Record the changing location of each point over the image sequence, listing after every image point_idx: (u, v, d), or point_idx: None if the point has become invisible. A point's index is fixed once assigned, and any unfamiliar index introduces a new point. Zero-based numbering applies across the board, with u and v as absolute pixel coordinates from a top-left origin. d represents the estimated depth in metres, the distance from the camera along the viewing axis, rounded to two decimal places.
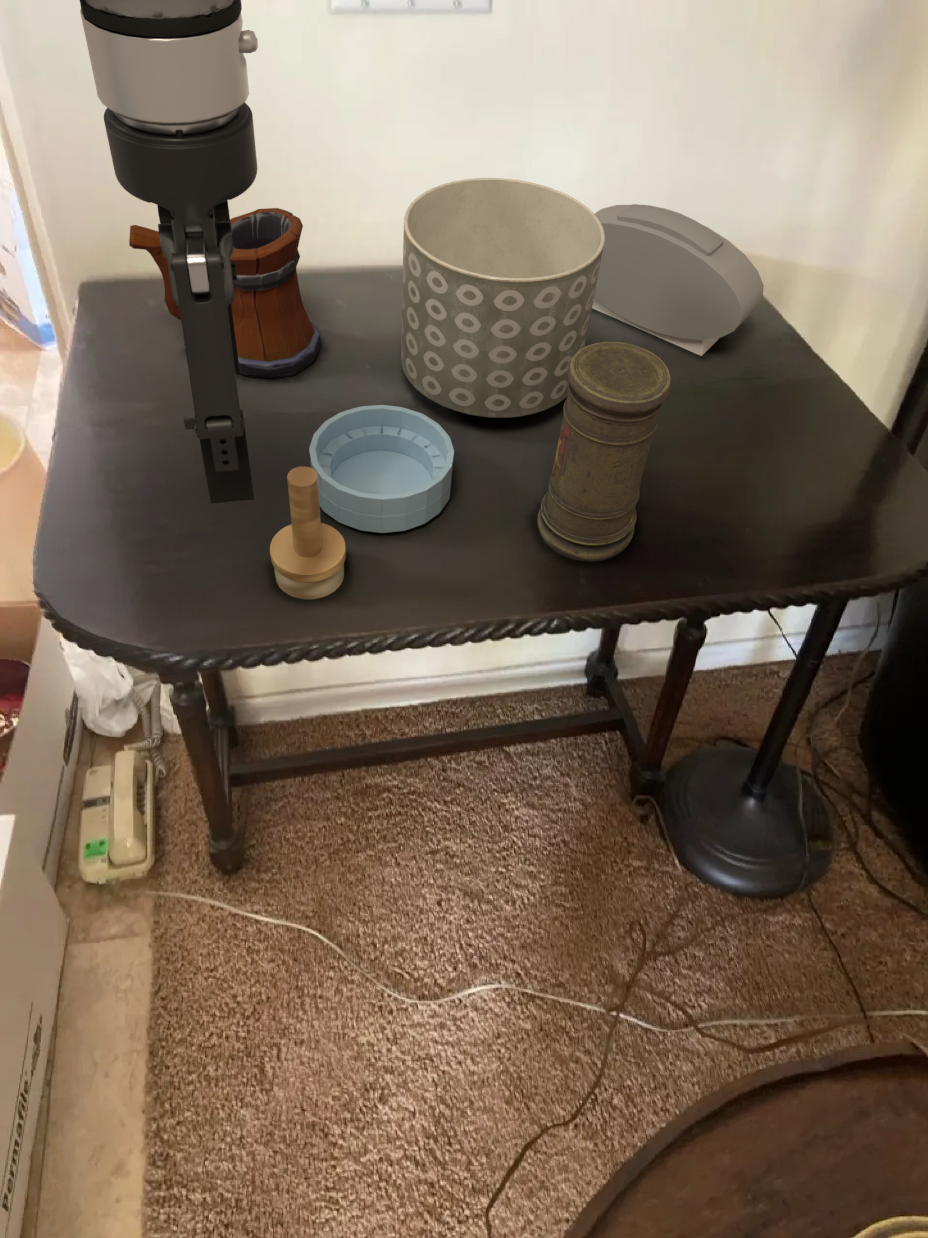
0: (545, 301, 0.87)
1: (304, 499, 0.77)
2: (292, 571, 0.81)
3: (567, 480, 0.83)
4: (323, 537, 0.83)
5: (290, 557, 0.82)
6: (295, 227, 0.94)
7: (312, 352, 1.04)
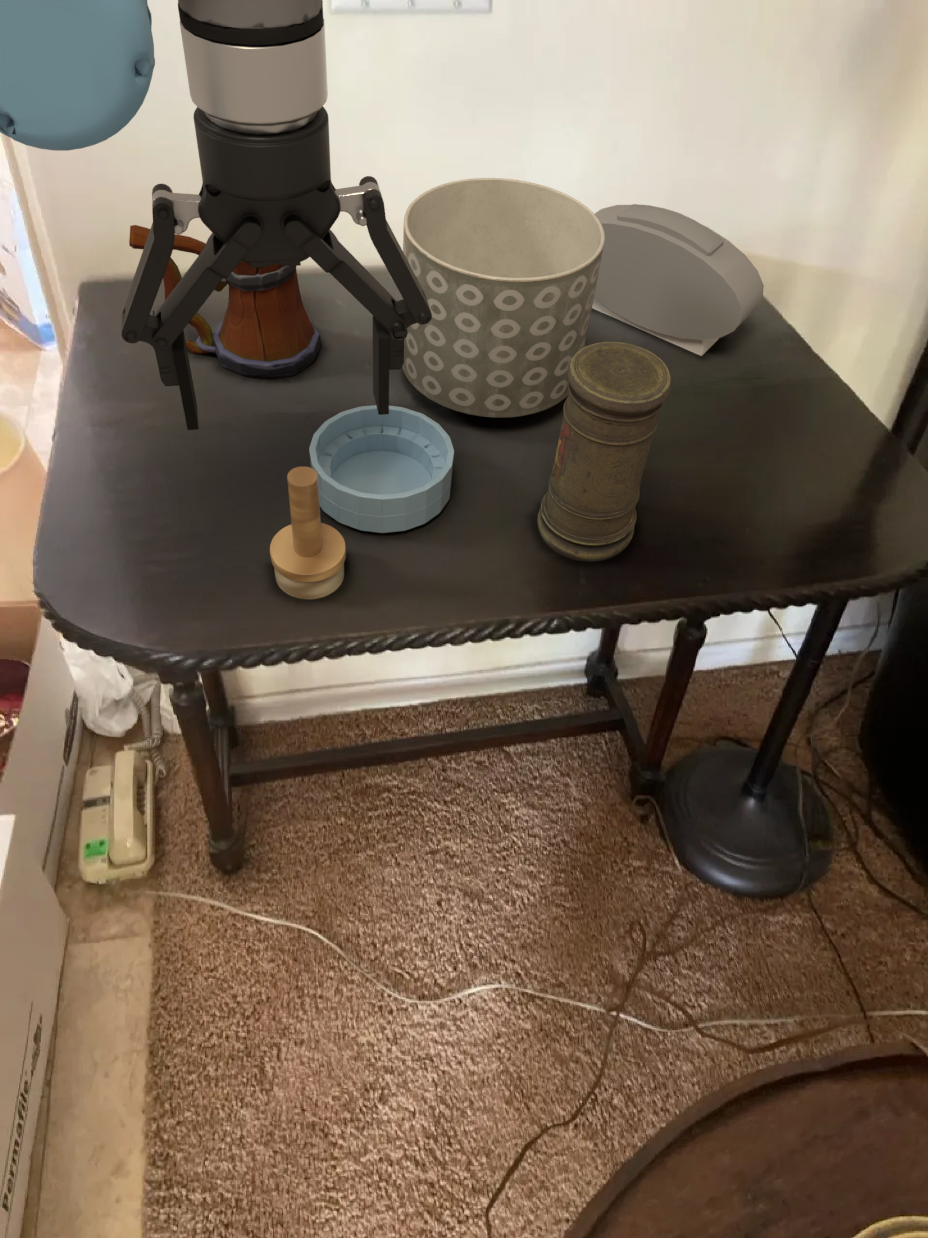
0: (545, 301, 0.87)
1: (304, 499, 0.77)
2: (292, 571, 0.81)
3: (567, 481, 0.83)
4: (323, 537, 0.83)
5: (290, 557, 0.82)
6: None
7: (312, 352, 1.04)
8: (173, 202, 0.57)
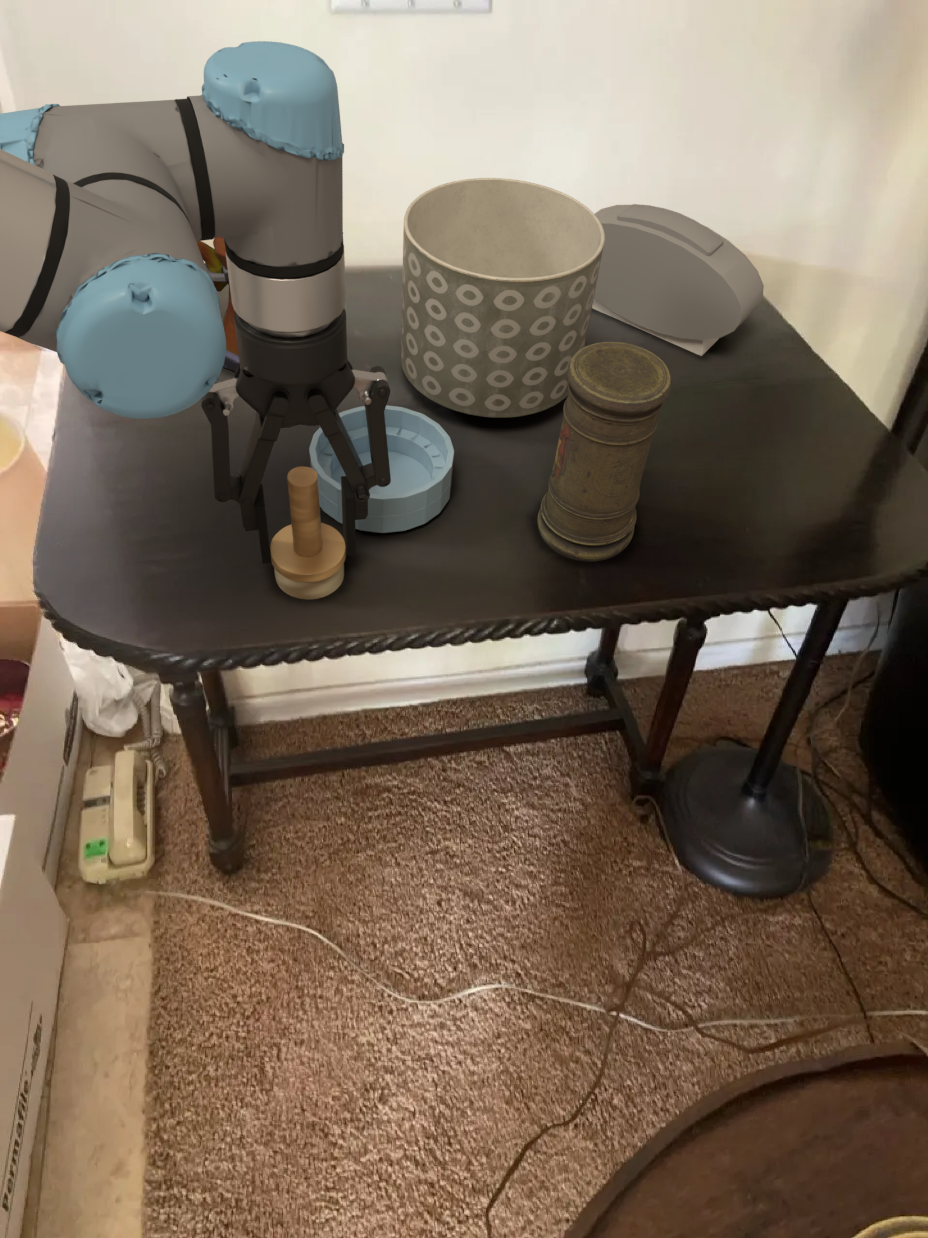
0: (545, 301, 0.87)
1: (304, 499, 0.77)
2: (292, 571, 0.81)
3: (567, 481, 0.83)
4: (323, 537, 0.83)
5: (290, 557, 0.82)
6: None
7: None
8: (216, 393, 0.68)
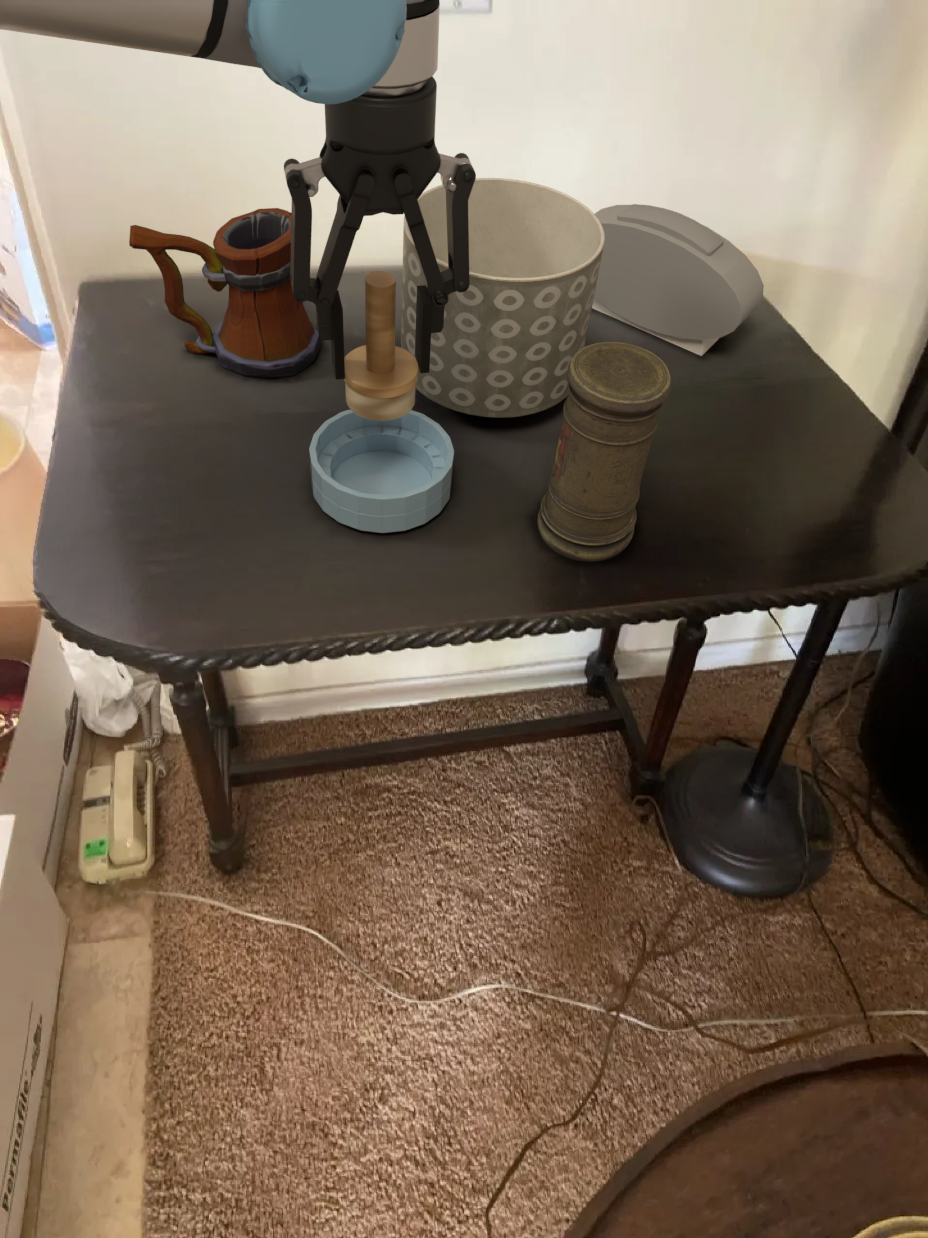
0: (545, 301, 0.87)
1: (381, 303, 0.76)
2: (366, 386, 0.79)
3: (567, 480, 0.83)
4: (395, 357, 0.82)
5: (363, 374, 0.81)
6: None
7: (312, 352, 1.04)
8: (301, 171, 0.67)
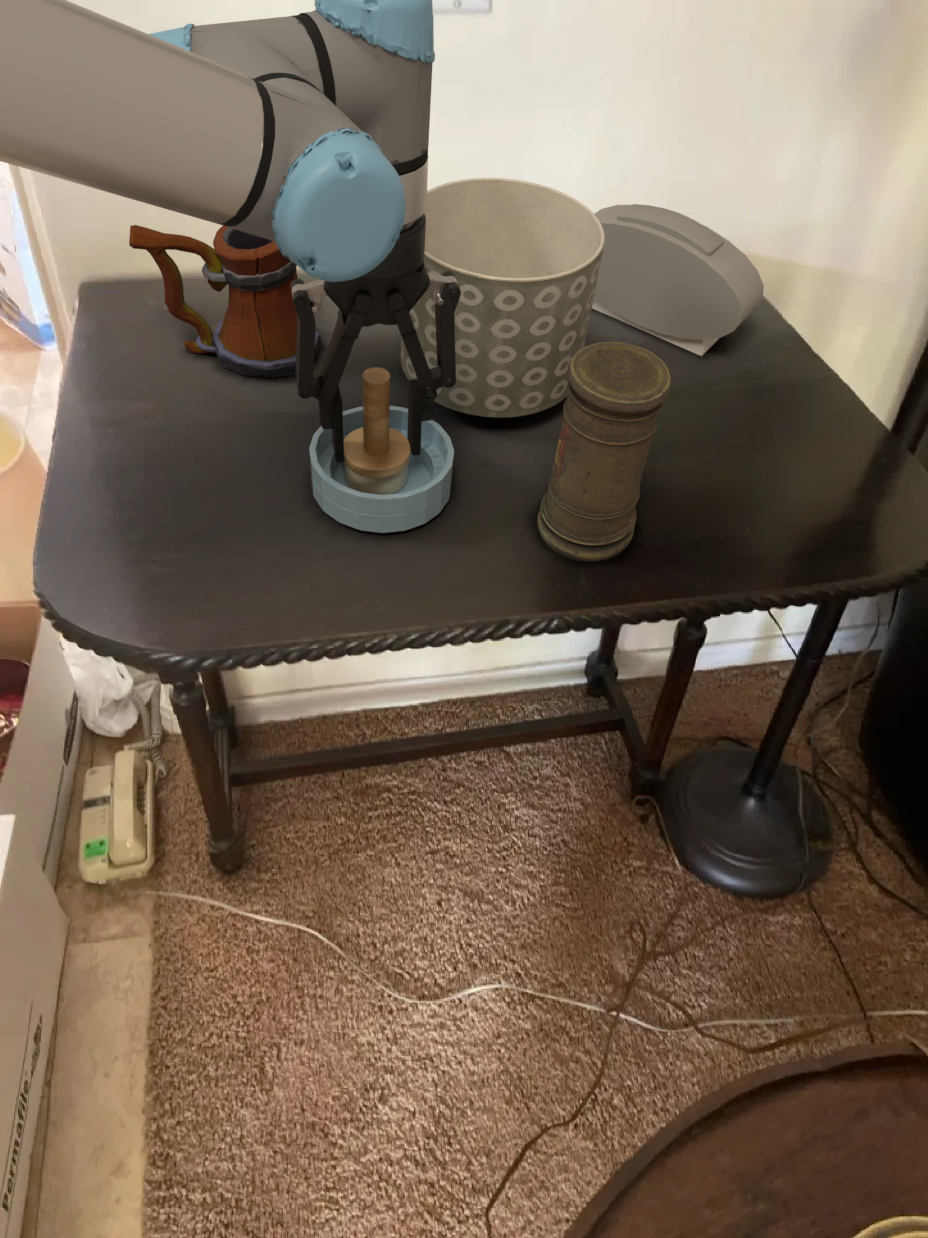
0: (545, 301, 0.87)
1: (377, 396, 0.84)
2: (363, 467, 0.88)
3: (567, 480, 0.83)
4: (389, 439, 0.91)
5: (361, 455, 0.89)
6: None
7: None
8: (306, 291, 0.76)
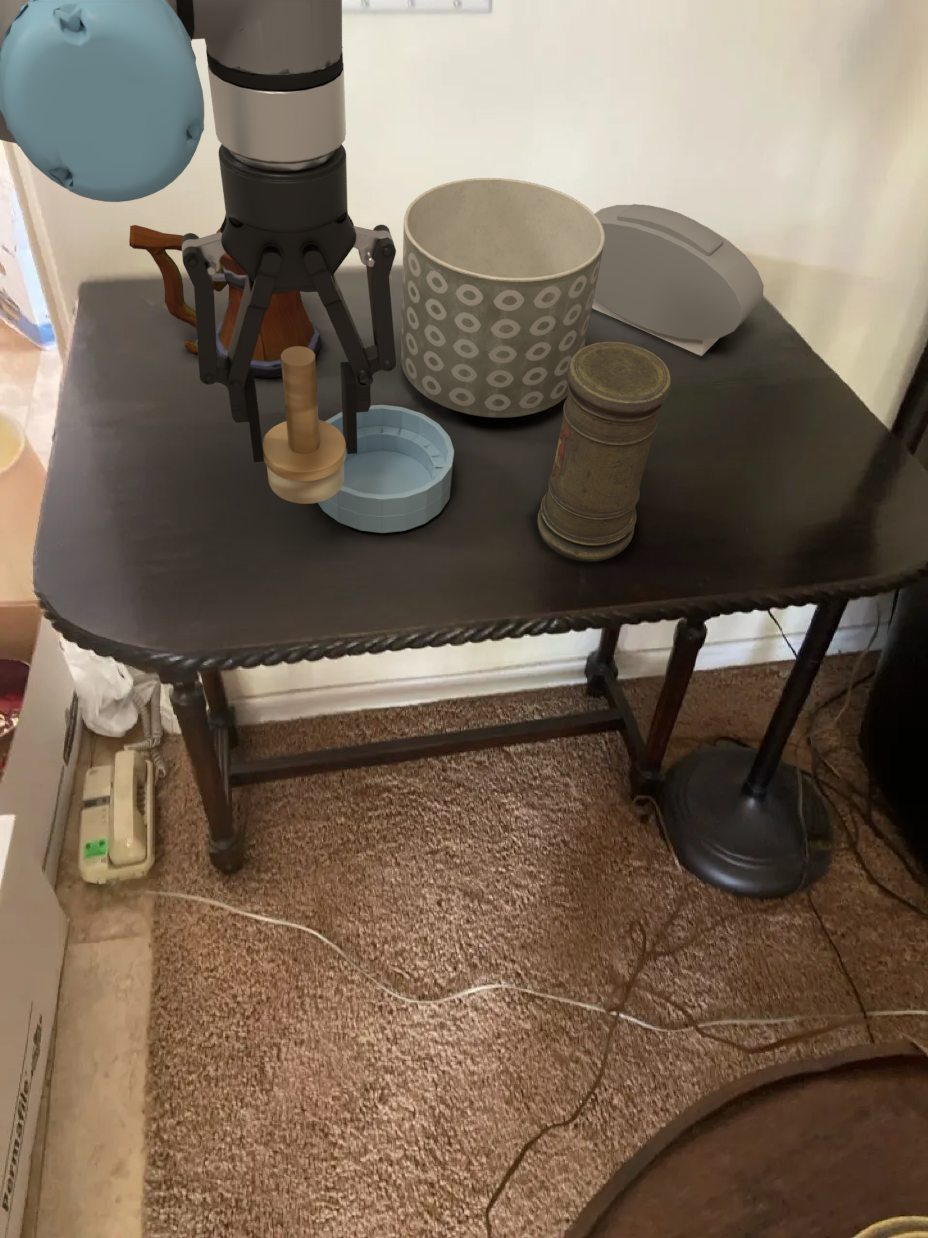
0: (545, 301, 0.87)
1: (299, 382, 0.69)
2: (286, 468, 0.73)
3: (567, 480, 0.83)
4: (321, 434, 0.75)
5: (284, 454, 0.74)
6: None
7: None
8: (199, 248, 0.61)
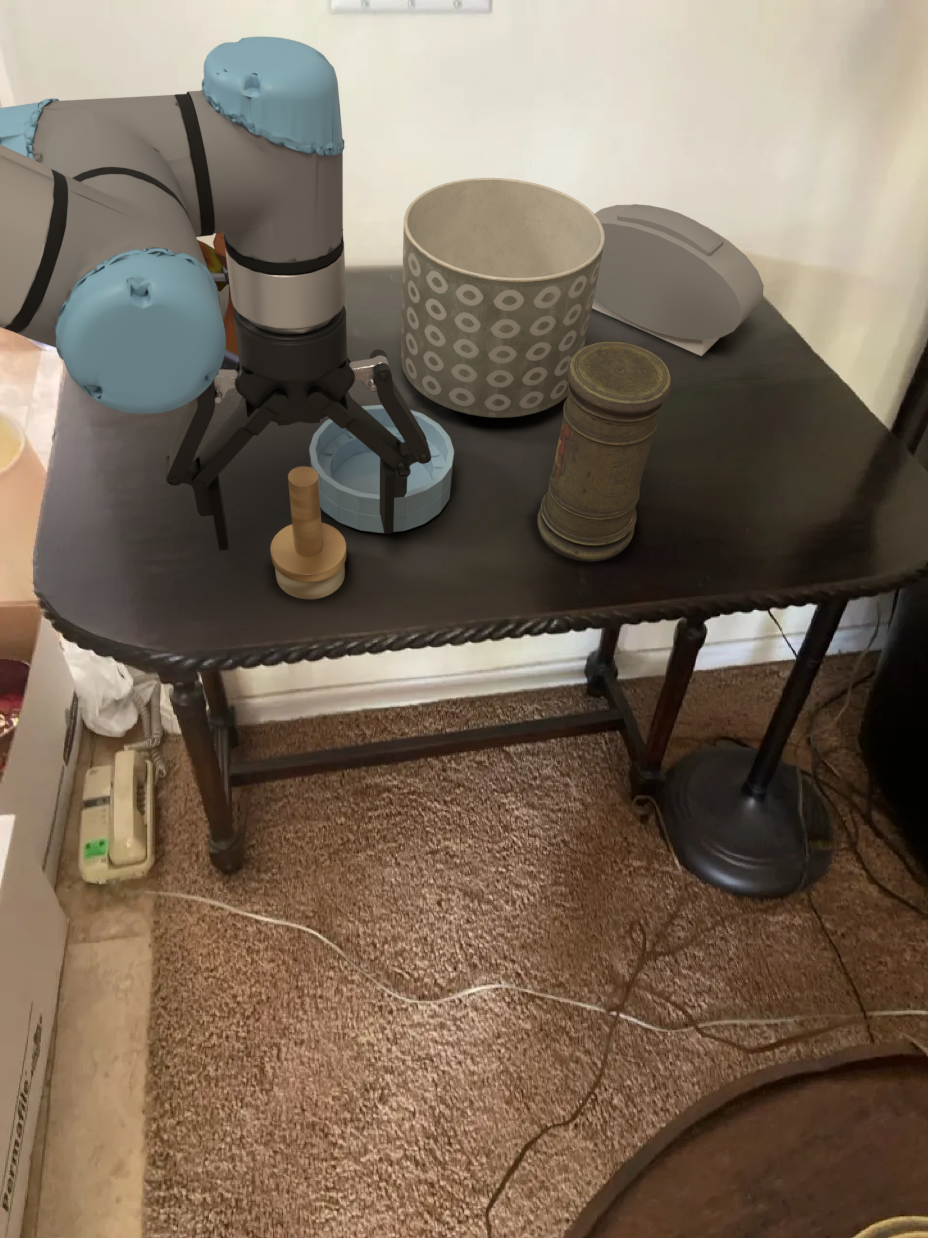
0: (545, 301, 0.87)
1: (304, 499, 0.77)
2: (293, 571, 0.81)
3: (567, 481, 0.83)
4: (324, 537, 0.83)
5: (291, 557, 0.82)
6: None
7: None
8: (214, 378, 0.67)
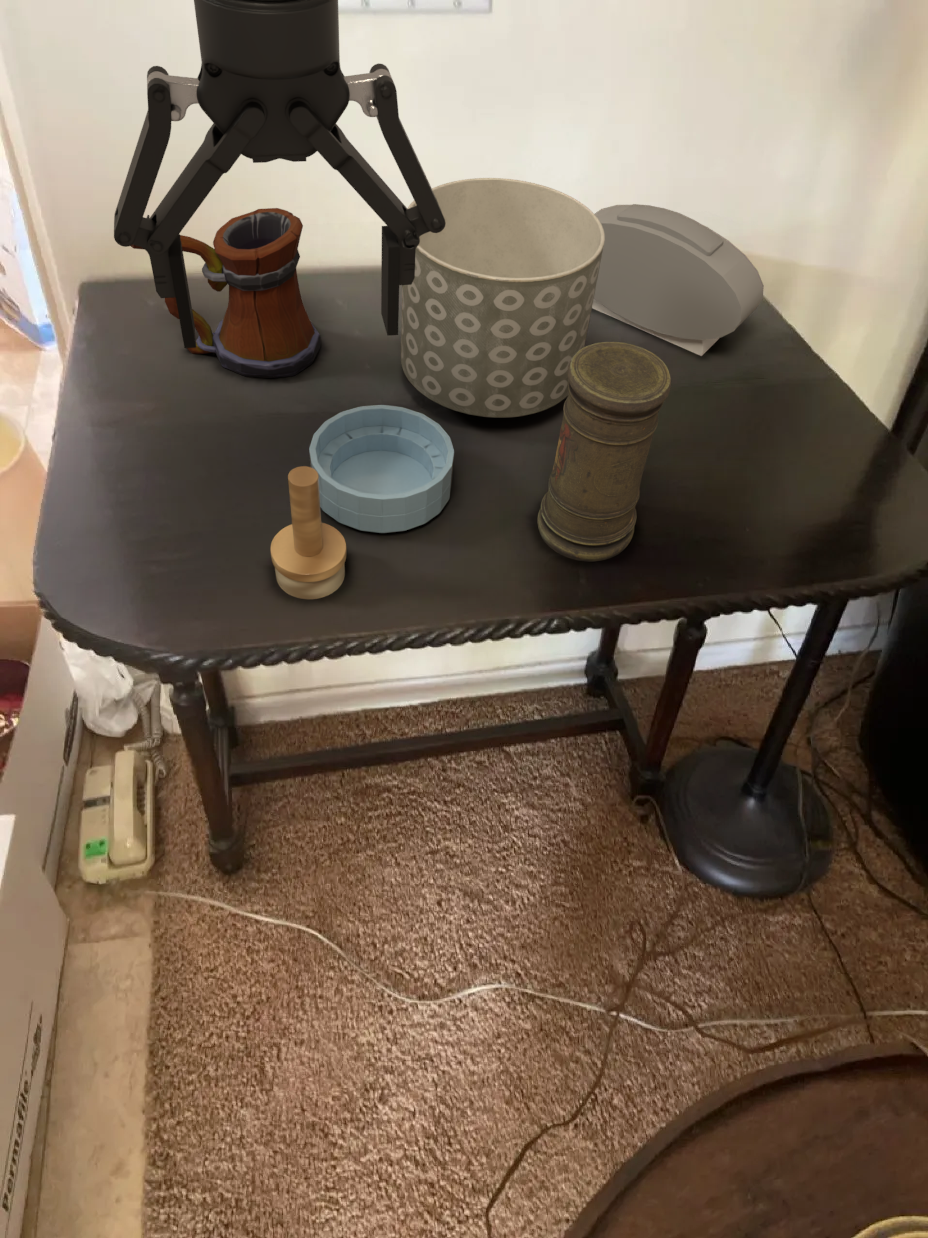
0: (545, 301, 0.87)
1: (304, 499, 0.77)
2: (293, 571, 0.81)
3: (567, 480, 0.83)
4: (324, 537, 0.83)
5: (291, 557, 0.82)
6: (295, 227, 0.94)
7: (312, 352, 1.04)
8: (170, 84, 0.53)
